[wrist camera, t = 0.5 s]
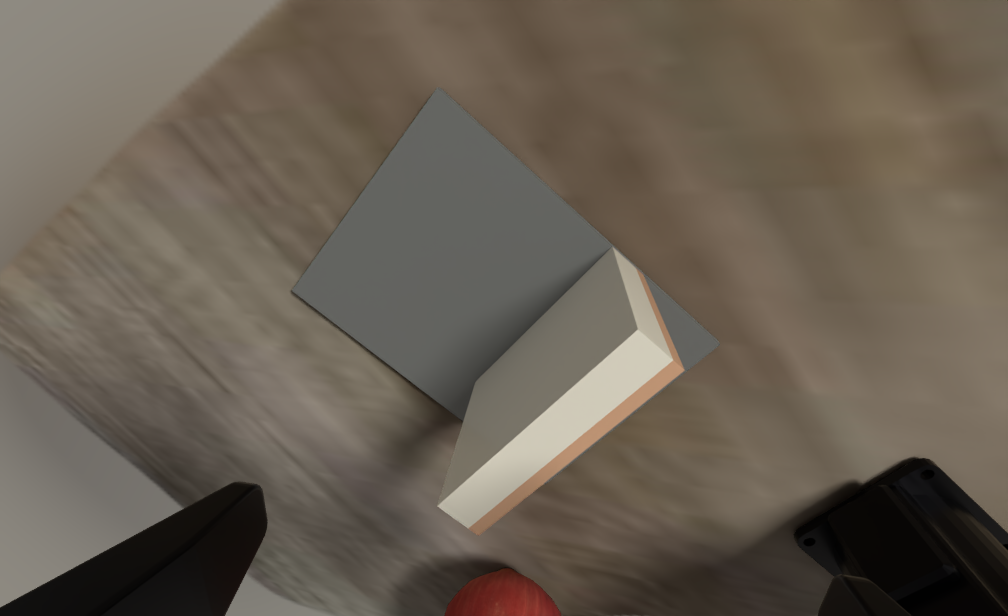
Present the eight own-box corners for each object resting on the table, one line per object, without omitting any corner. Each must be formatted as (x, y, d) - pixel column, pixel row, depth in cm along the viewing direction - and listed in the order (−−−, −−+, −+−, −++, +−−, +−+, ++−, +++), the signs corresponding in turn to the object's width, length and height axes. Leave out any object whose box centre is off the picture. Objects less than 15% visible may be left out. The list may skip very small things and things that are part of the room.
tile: (643, 274, 18) (684, 370, 12) (504, 404, 21) (478, 535, 15) (612, 246, 18) (638, 329, 12) (475, 381, 21) (437, 506, 15)
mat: (717, 340, 20) (720, 344, 19) (545, 478, 23) (545, 484, 23) (440, 87, 17) (437, 87, 17) (296, 287, 21) (291, 290, 20)
